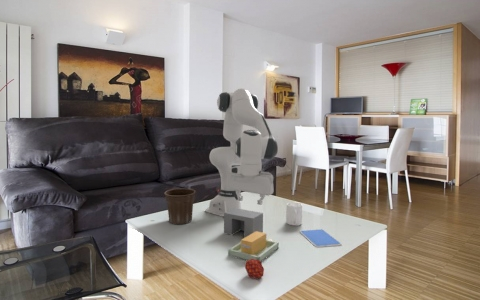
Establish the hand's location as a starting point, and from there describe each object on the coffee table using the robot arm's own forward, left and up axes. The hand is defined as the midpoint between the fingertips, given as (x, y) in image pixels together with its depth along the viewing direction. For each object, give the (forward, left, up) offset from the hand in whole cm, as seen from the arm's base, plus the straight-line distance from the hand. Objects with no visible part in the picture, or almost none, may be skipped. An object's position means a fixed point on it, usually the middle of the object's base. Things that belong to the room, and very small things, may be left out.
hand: (249, 202), depth 135 cm
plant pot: (-50, +13, -21) cm, 56 cm away
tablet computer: (+21, +28, -21) cm, 41 cm away
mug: (+4, +41, -21) cm, 46 cm away
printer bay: (-12, +15, -20) cm, 28 cm away
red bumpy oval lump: (+13, -19, -21) cm, 31 cm away
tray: (+3, -1, -20) cm, 21 cm away
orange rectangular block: (+3, -1, -20) cm, 20 cm away
